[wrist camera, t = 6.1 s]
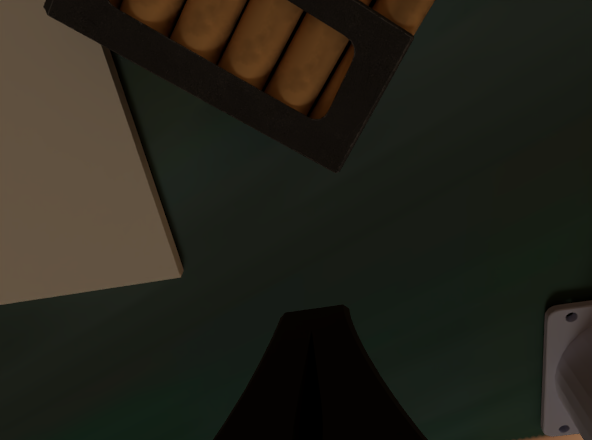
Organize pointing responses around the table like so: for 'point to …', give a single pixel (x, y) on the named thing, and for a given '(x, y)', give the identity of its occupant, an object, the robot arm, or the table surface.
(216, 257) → the table surface
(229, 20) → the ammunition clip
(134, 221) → the mat
